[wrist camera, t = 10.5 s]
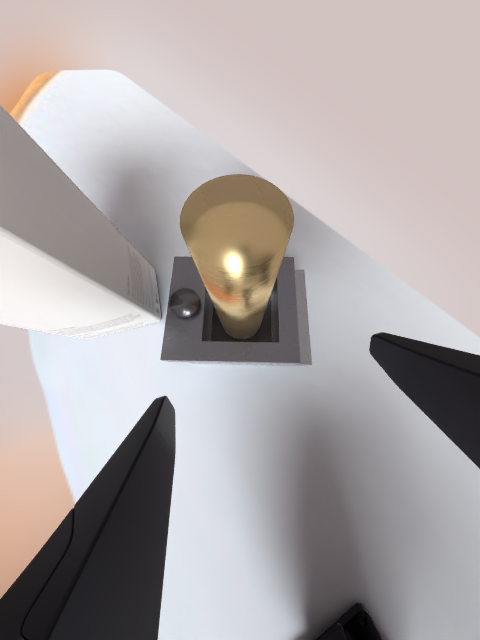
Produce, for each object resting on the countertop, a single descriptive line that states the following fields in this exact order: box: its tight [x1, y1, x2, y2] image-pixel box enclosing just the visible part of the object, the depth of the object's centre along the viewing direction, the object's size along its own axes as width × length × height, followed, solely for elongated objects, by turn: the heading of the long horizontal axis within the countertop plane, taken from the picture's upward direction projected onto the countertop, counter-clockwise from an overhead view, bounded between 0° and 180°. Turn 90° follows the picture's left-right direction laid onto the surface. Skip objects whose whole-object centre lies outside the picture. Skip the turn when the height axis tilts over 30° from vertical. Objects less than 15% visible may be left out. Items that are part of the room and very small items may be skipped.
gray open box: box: [161, 257, 312, 366], centre depth 17 cm, size 12×9×5 cm
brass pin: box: [180, 174, 294, 339], centre depth 13 cm, size 4×4×13 cm
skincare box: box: [0, 105, 161, 340], centre depth 12 cm, size 8×7×16 cm
